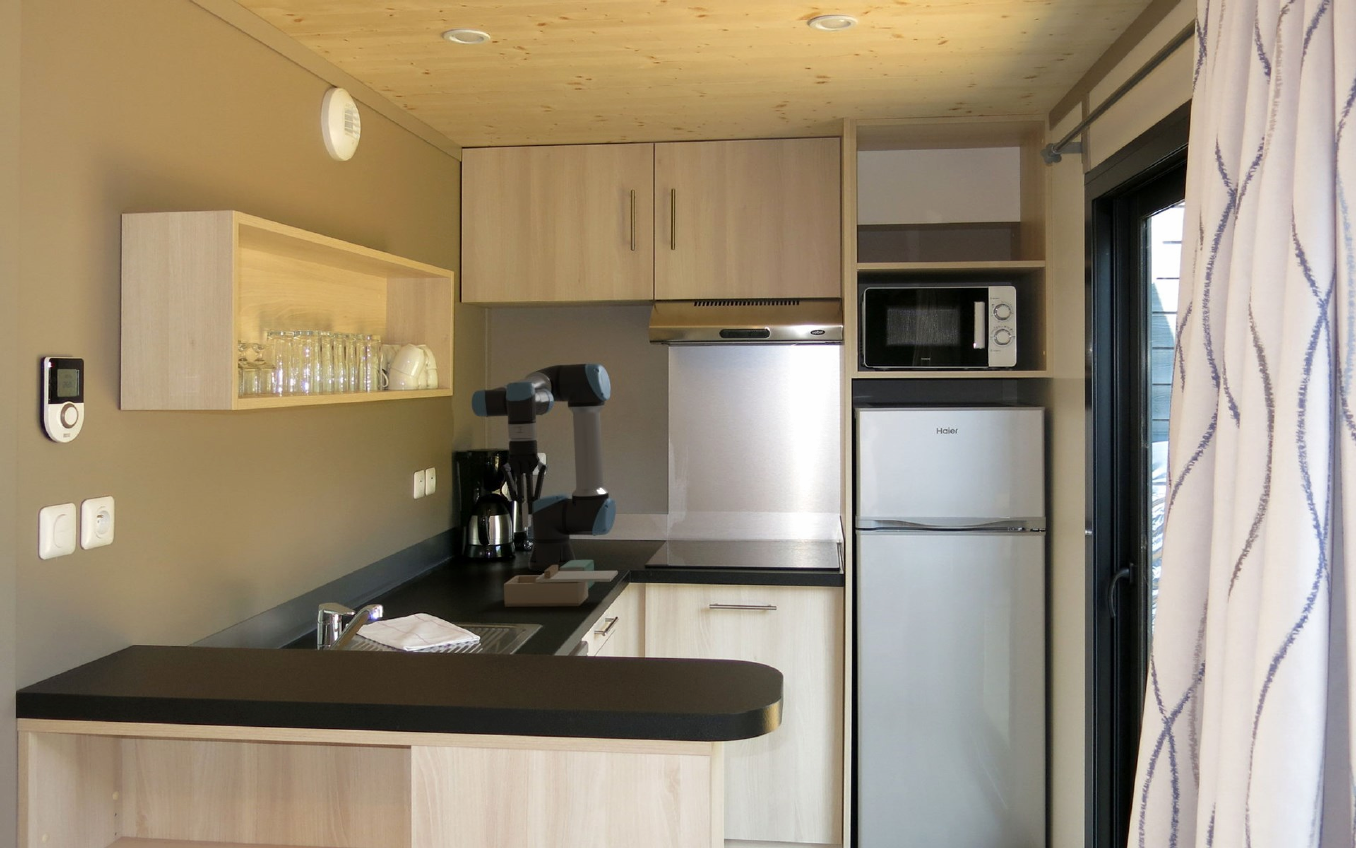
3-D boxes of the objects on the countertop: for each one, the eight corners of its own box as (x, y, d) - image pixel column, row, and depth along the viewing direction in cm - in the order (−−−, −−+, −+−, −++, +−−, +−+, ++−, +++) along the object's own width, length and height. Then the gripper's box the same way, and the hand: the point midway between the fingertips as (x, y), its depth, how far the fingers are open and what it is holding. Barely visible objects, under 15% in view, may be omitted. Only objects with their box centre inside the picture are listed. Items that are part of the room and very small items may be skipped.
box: (595, 583, 297) (594, 558, 297) (585, 593, 284) (584, 567, 283) (570, 584, 298) (569, 559, 298) (560, 594, 284) (558, 567, 284)
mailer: (517, 597, 281) (516, 575, 281) (588, 596, 279) (587, 574, 278) (504, 606, 269) (503, 584, 269) (578, 606, 267) (578, 583, 267)
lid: (545, 574, 279) (545, 564, 279) (617, 573, 277) (617, 563, 277) (535, 582, 268) (535, 571, 268) (610, 581, 266) (609, 570, 266)
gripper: (495, 441, 270) (499, 529, 271) (543, 439, 268) (547, 528, 270) (503, 439, 277) (507, 524, 279) (549, 437, 276) (553, 524, 277)
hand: (526, 526), depth 274 cm, fingers closed
